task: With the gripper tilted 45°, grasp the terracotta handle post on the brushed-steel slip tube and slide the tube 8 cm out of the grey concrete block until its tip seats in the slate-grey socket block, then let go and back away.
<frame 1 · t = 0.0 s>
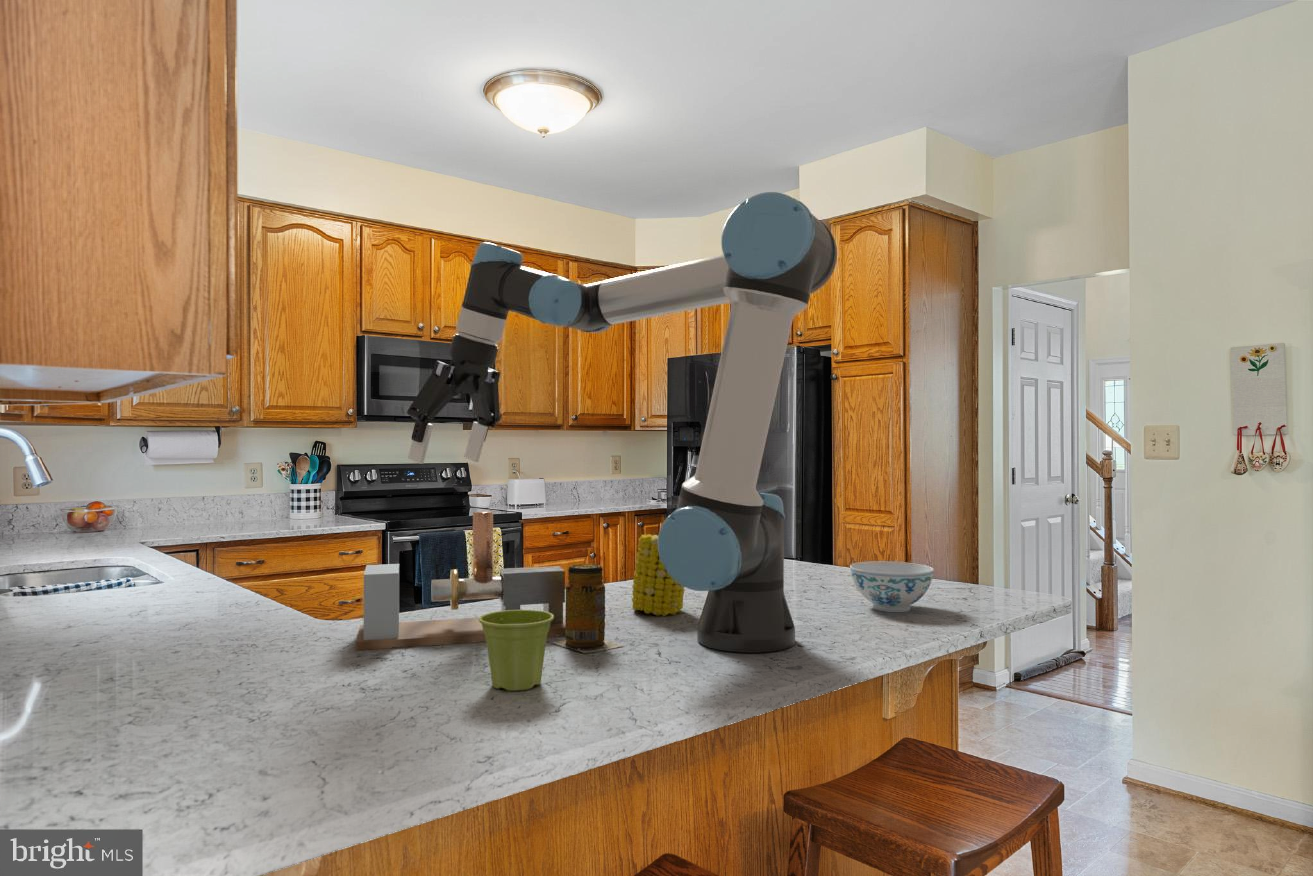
hand: (444, 460, 136), 28 cm above the countertop, tool tilted 20°, fingers open, 13 cm apart
grey concrete block: (532, 595, 133), on the base board, point 6 cm above the countertop
base board: (567, 626, 135), on the countertop
food: (660, 612, 147), on the countertop
slip tube: (496, 559, 132), point 12 cm above the countertop, slide at 0.0 cm
plant pot: (516, 686, 103), on the countertop
socket block: (382, 600, 126), on the base board, point 6 cm above the countertop
chinaware: (891, 609, 150), on the countertop
condiment: (587, 646, 123), on the countertop
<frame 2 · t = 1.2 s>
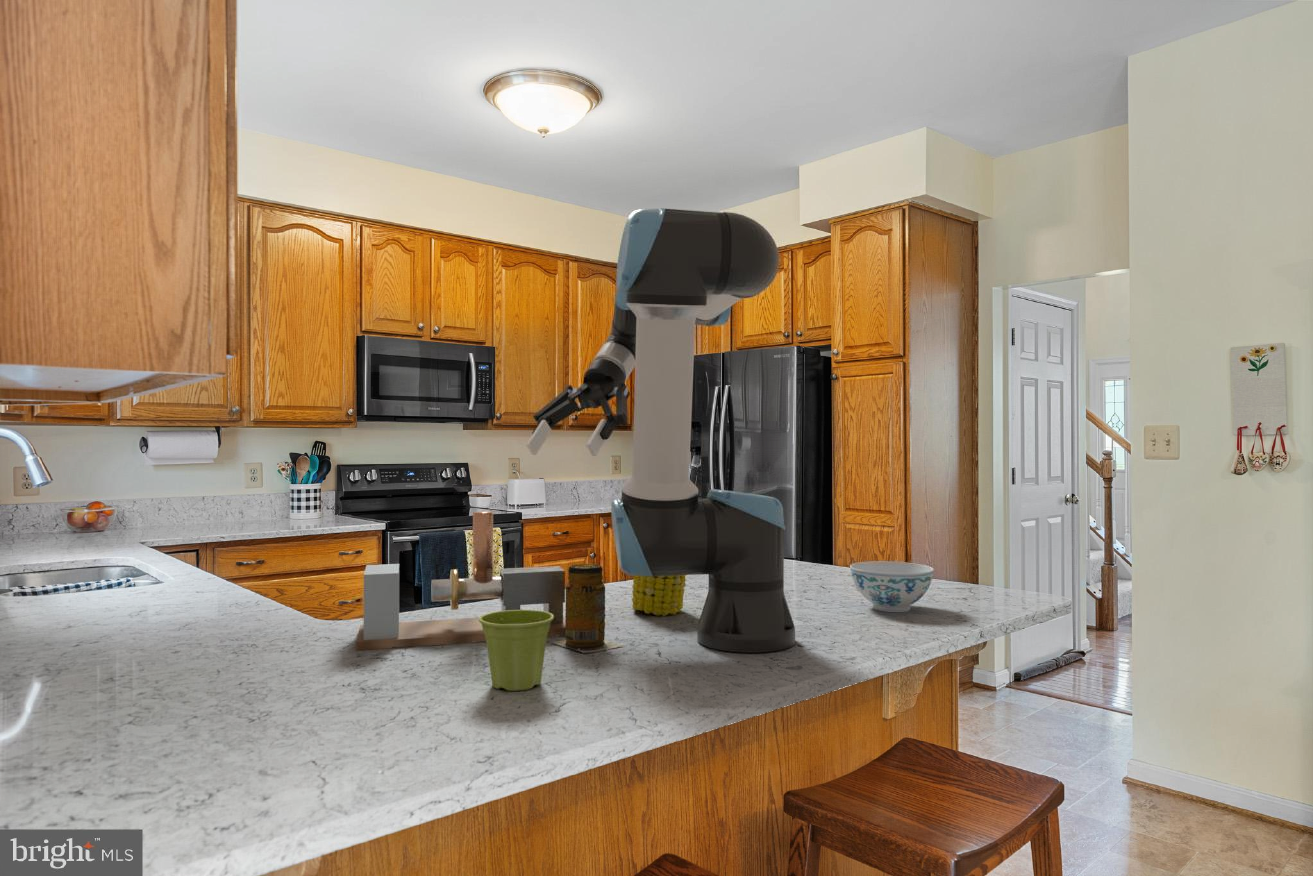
hand: (559, 450, 143), 29 cm above the countertop, tool tilted 45°, fingers open, 13 cm apart
nothing on the countertop moved.
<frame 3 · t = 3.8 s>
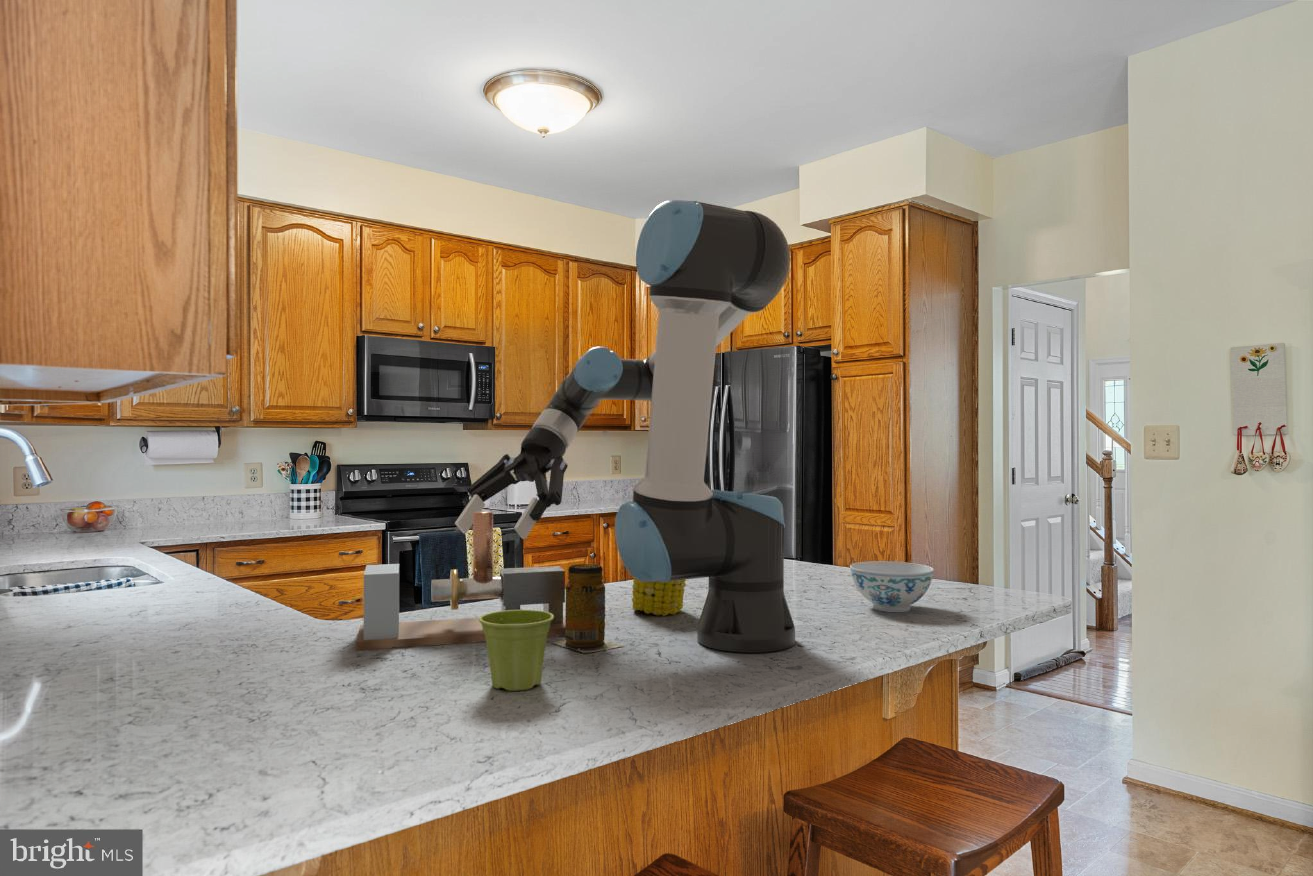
hand: (489, 531, 134), 16 cm above the countertop, tool tilted 45°, fingers open, 13 cm apart
nothing on the countertop moved.
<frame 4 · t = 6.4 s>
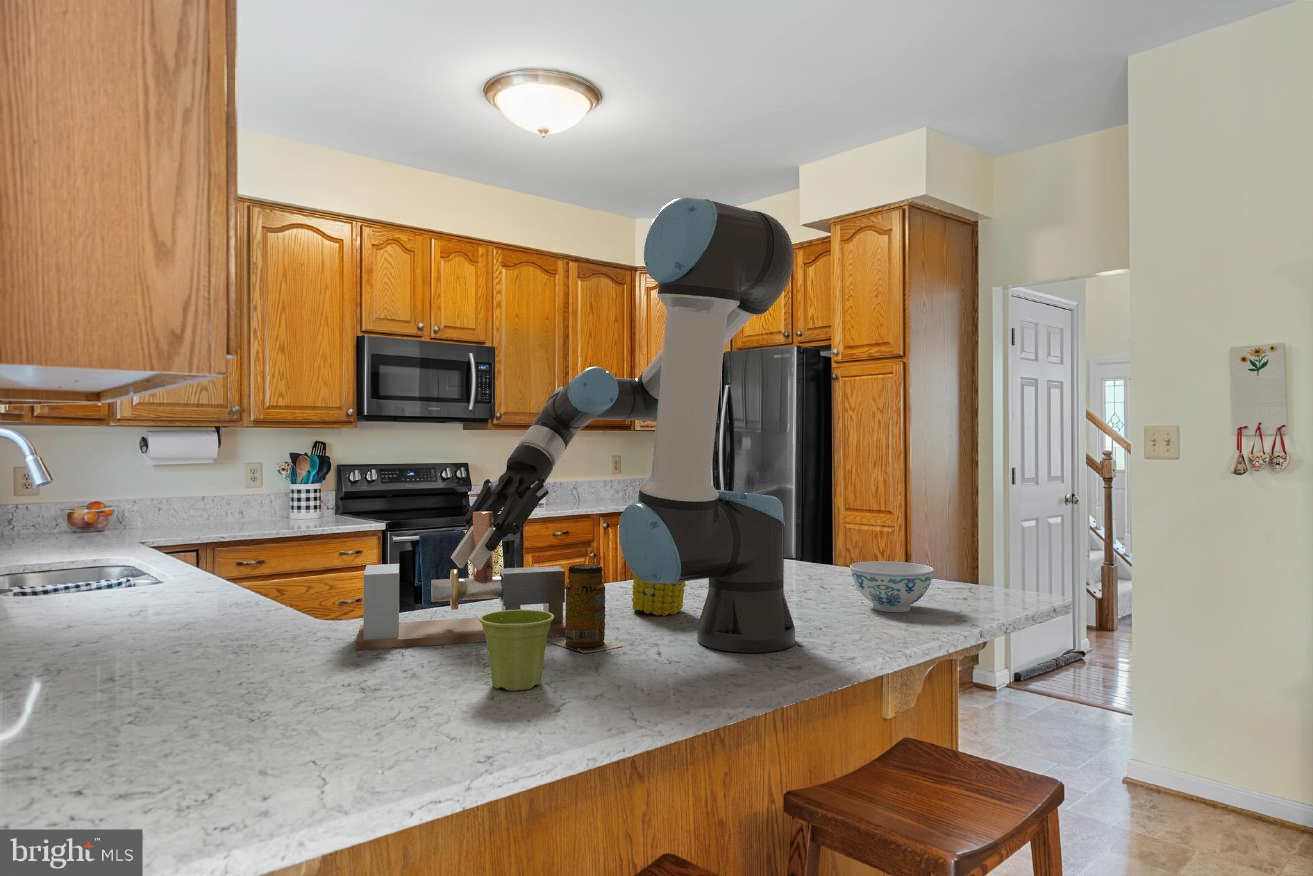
hand: (465, 563, 128), 12 cm above the countertop, tool tilted 45°, fingers closed on slip tube, 3 cm apart
slip tube: (496, 559, 132), point 12 cm above the countertop, slide at 0.0 cm, touching gripper
everything else where it was.
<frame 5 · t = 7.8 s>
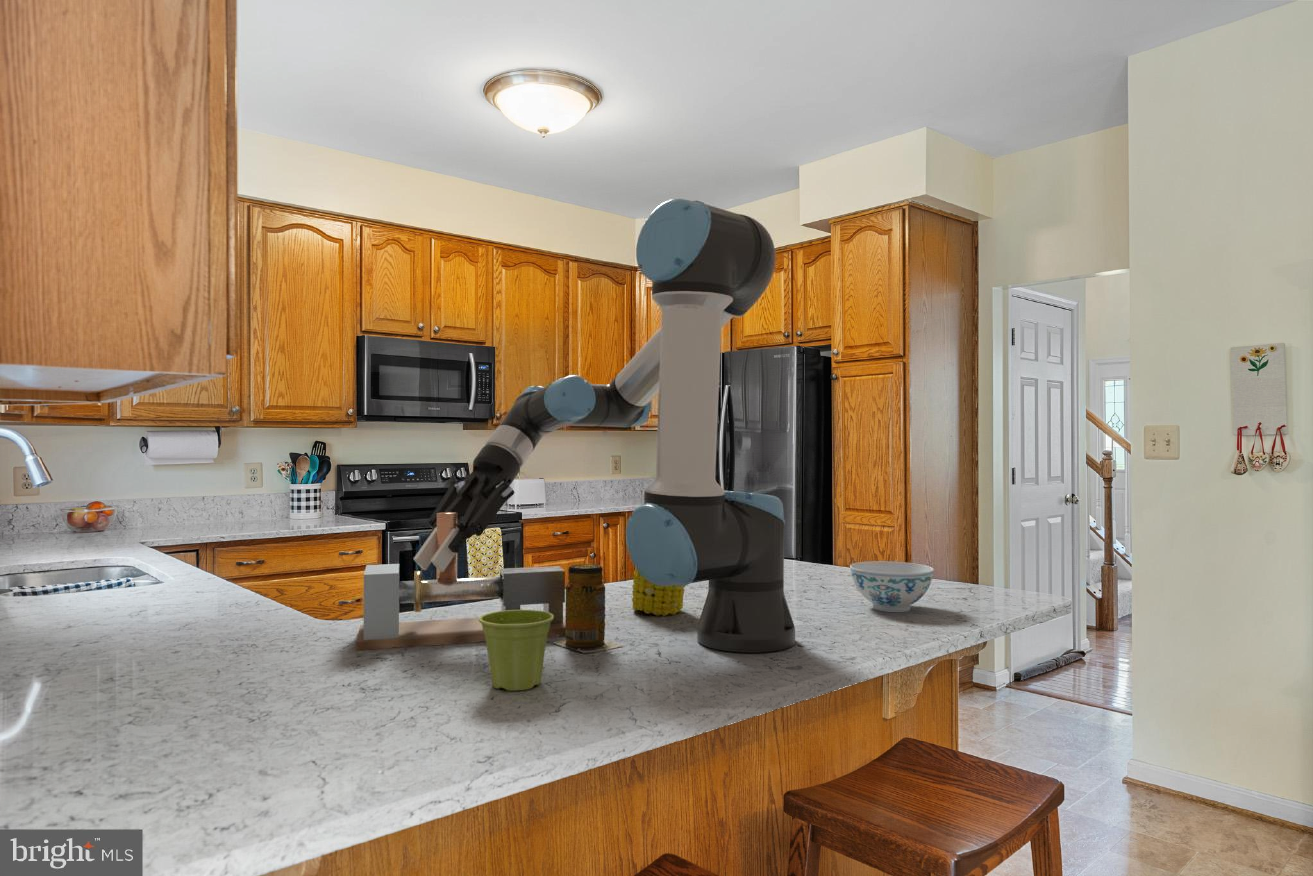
hand: (428, 565, 126), 12 cm above the countertop, tool tilted 45°, fingers closed on slip tube, 3 cm apart
slip tube: (461, 560, 130), point 12 cm above the countertop, slide at 5.7 cm, touching gripper
everything else where it was.
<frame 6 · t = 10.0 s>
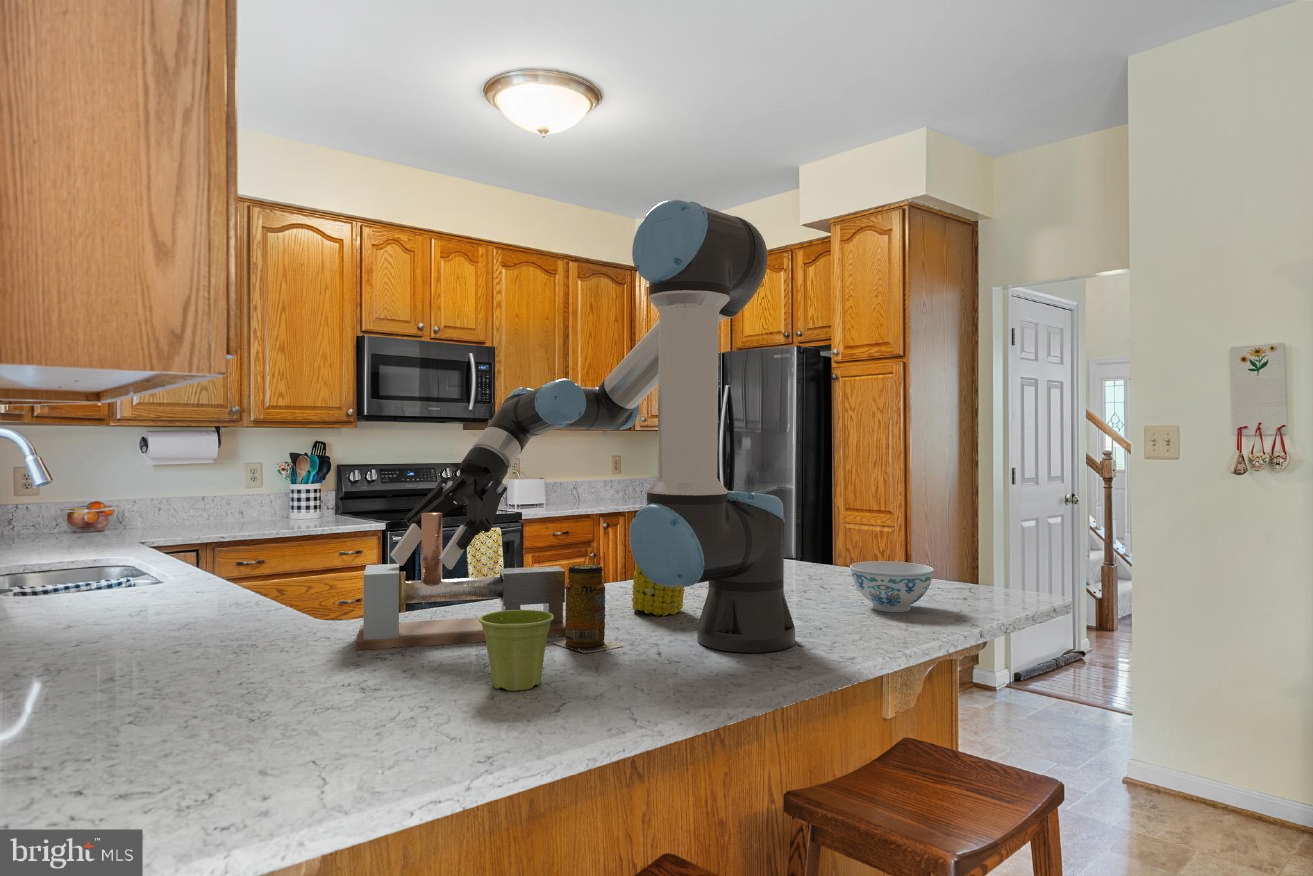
hand: (420, 562, 125), 12 cm above the countertop, tool tilted 45°, fingers open, 10 cm apart
slip tube: (446, 561, 129), point 12 cm above the countertop, slide at 8.0 cm
everything else where it was.
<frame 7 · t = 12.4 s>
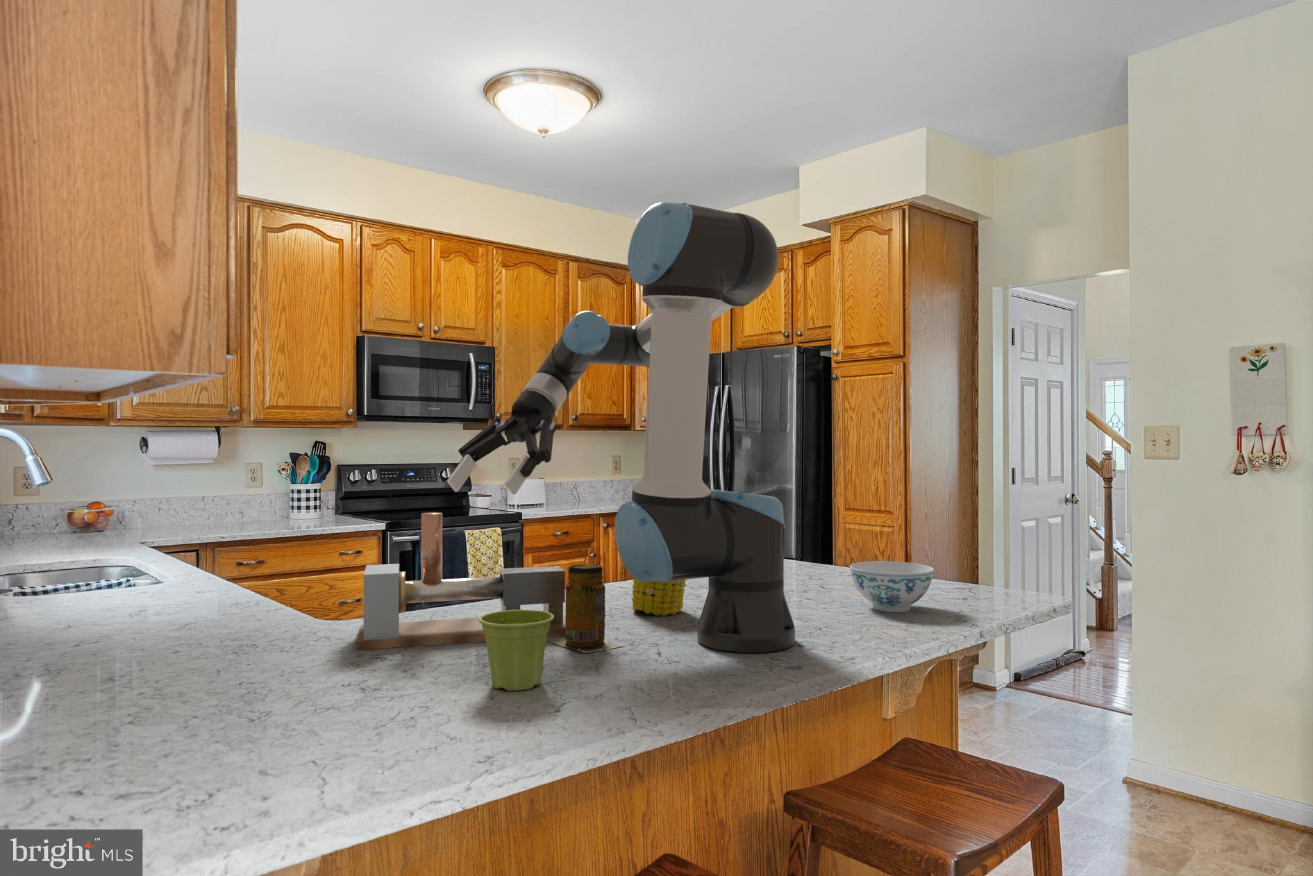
hand: (480, 487, 138), 23 cm above the countertop, tool tilted 45°, fingers open, 13 cm apart
nothing on the countertop moved.
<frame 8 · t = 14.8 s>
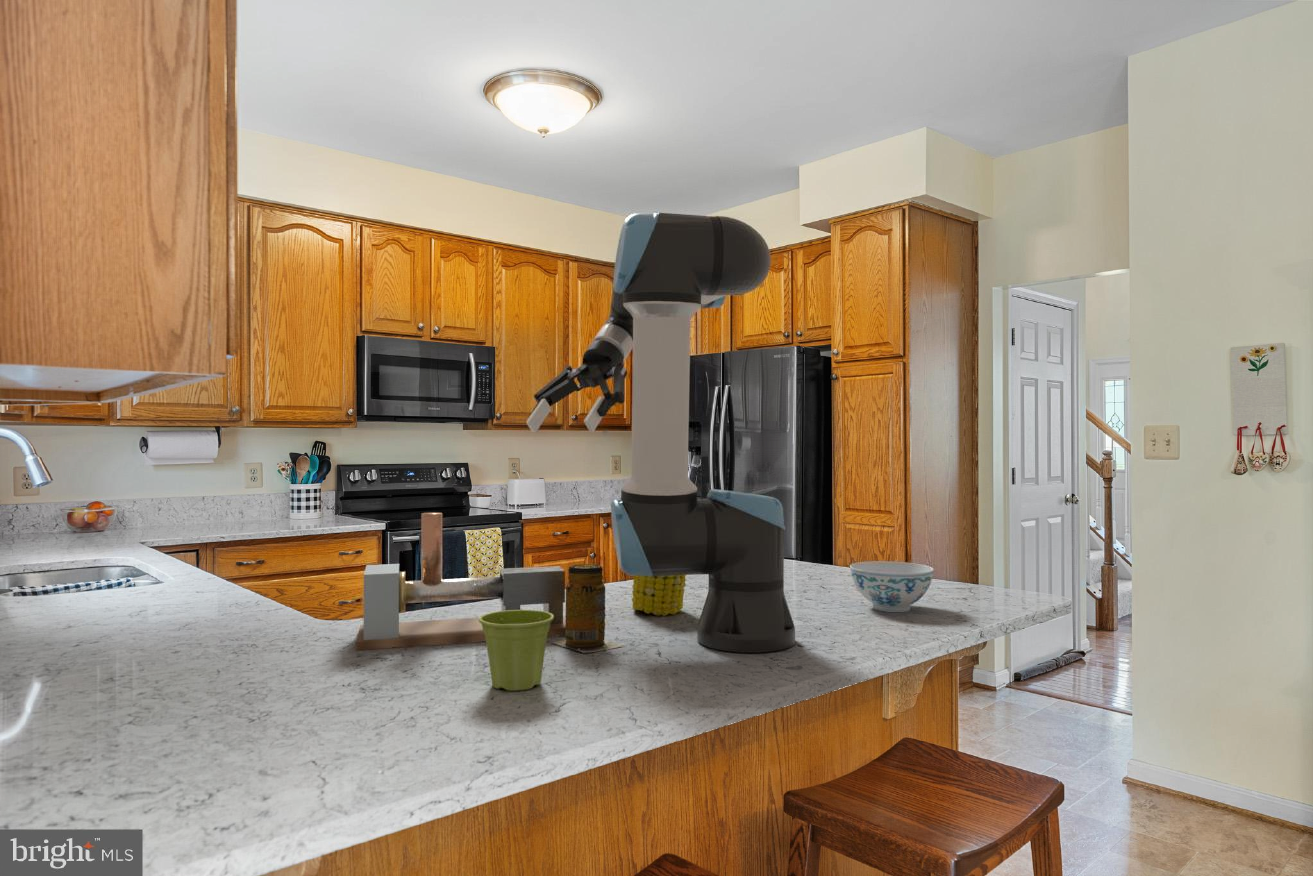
hand: (558, 427, 147), 34 cm above the countertop, tool tilted 45°, fingers open, 13 cm apart
nothing on the countertop moved.
at the end: slip tube slide at 8.0 cm; the gripper is holding nothing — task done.
